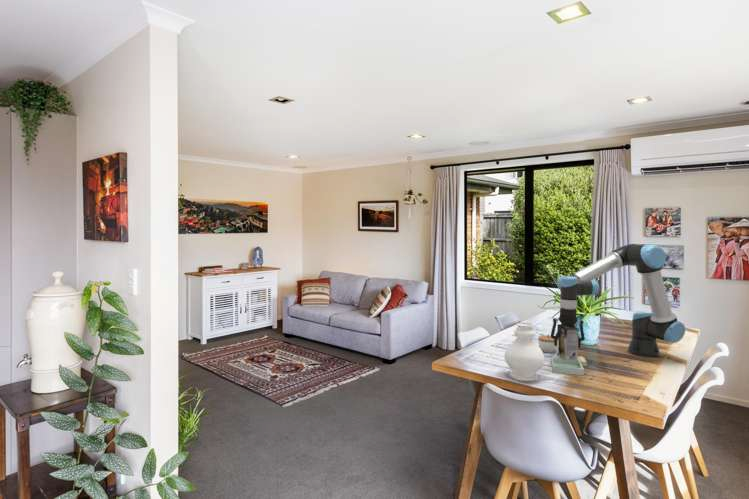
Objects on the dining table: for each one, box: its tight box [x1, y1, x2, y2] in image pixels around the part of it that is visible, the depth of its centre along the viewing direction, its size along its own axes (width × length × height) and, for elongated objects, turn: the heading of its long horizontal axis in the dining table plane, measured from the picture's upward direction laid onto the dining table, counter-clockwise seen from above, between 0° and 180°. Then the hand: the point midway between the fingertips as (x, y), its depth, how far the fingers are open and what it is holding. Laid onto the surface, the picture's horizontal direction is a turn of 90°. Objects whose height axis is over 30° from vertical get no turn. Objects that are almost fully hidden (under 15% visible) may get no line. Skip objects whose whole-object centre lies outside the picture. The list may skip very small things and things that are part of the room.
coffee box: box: [556, 323, 580, 361], centre depth 216 cm, size 9×6×16 cm
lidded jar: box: [537, 334, 556, 354], centre depth 248 cm, size 11×11×9 cm
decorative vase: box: [504, 322, 546, 382], centre depth 206 cm, size 18×18×25 cm
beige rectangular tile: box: [577, 355, 588, 367], centre depth 228 cm, size 8×10×2 cm
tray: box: [550, 357, 585, 376], centre depth 217 cm, size 14×15×3 cm
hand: (566, 353), depth 217 cm, fingers closed on coffee box, 8 cm apart
